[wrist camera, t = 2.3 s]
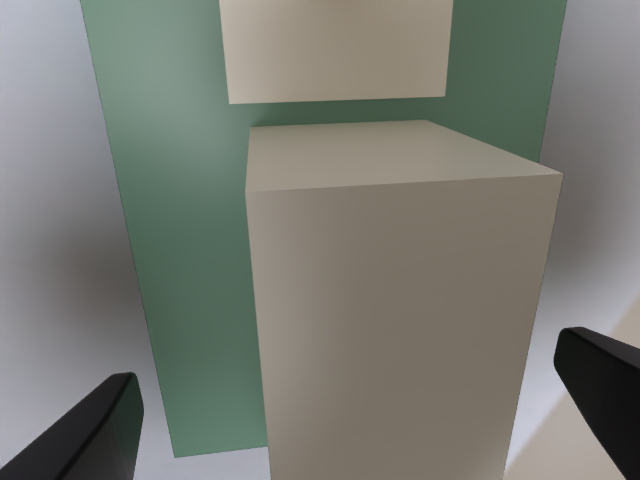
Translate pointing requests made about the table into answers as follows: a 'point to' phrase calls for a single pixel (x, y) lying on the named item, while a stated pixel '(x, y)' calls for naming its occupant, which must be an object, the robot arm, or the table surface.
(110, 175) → the table surface
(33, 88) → the table surface
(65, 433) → the robot arm
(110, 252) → the table surface
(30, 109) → the table surface
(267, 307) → the block
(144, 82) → the board
